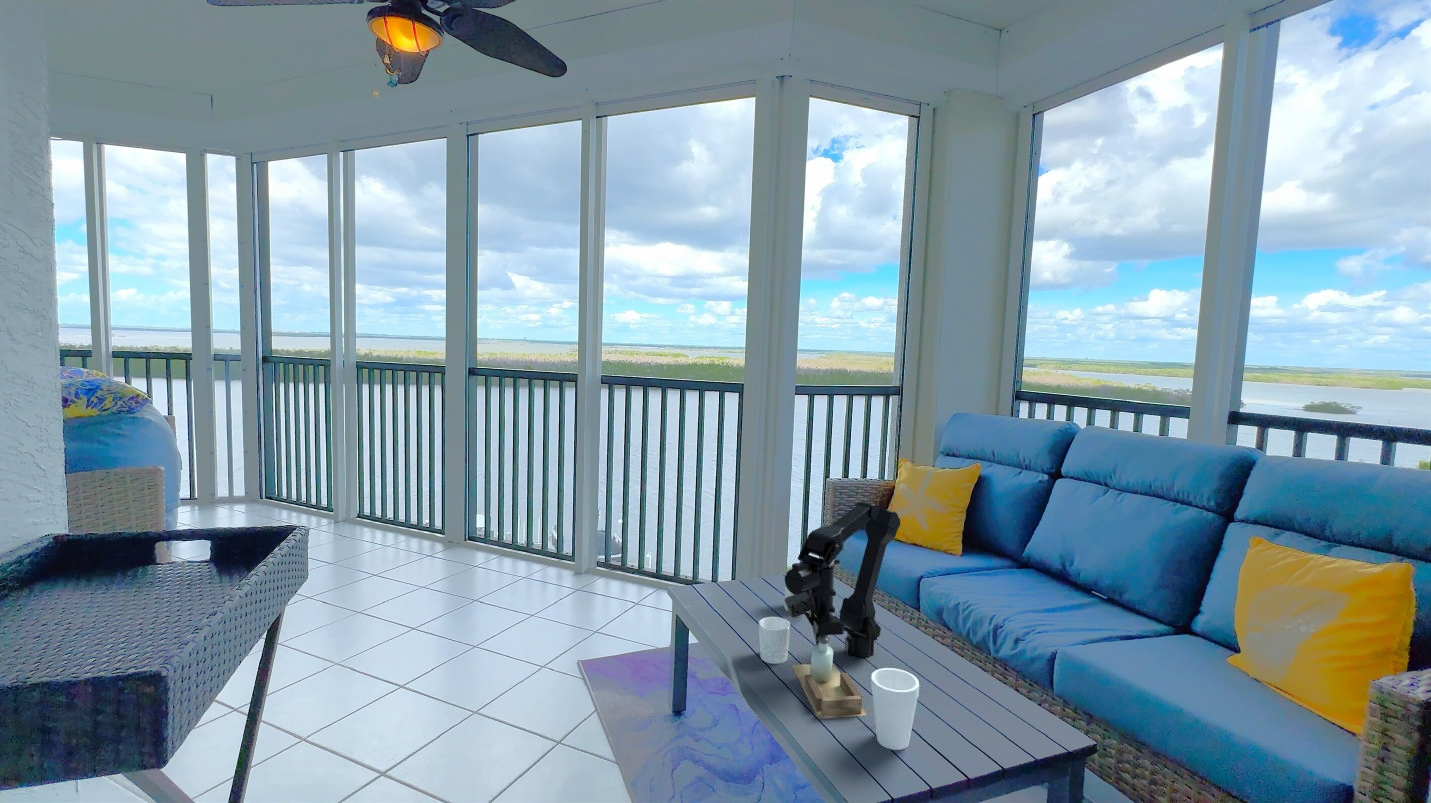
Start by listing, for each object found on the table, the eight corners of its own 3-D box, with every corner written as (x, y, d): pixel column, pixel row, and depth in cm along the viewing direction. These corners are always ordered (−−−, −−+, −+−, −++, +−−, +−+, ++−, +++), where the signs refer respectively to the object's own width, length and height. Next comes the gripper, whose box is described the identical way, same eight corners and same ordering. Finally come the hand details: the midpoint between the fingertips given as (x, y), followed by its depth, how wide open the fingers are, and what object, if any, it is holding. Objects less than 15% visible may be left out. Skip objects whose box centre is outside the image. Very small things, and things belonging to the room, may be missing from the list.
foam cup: (881, 721, 136) (883, 663, 135) (923, 738, 130) (926, 678, 129) (861, 741, 129) (863, 680, 128) (904, 761, 123) (907, 697, 122)
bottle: (827, 667, 155) (830, 631, 152) (833, 681, 150) (837, 644, 147) (807, 669, 154) (810, 632, 151) (813, 683, 149) (816, 645, 146)
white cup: (753, 663, 160) (754, 625, 159) (765, 650, 167) (766, 614, 166) (782, 671, 157) (783, 632, 156) (793, 658, 163) (794, 620, 163)
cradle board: (833, 666, 159) (834, 649, 159) (867, 719, 137) (868, 699, 136) (791, 668, 158) (791, 651, 157) (818, 722, 135) (818, 702, 135)
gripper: (780, 570, 160) (777, 629, 161) (798, 600, 141) (795, 666, 143) (822, 570, 161) (820, 628, 163) (846, 599, 143) (843, 665, 144)
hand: (818, 646), depth 153 cm, fingers closed
